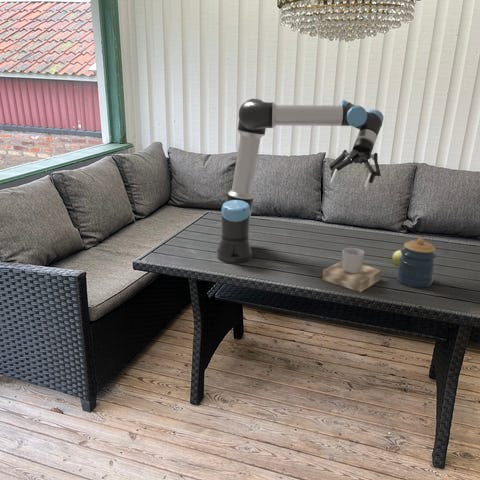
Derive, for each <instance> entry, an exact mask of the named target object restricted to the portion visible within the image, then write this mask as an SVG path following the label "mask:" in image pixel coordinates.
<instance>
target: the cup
mask: <svg viewBox="0 0 480 480" xmlns="http://www.w3.org/2000/svg"><path fill="white" fill-rule="evenodd" d="M364 257H365V251H364V250H363V249H360V248H357V247H356V248H355V247H345V248H343V249H342V258H341V259H342V260H341V261H342V267H343V270H344V271H345V272H348V273H358V272H359V271H360V269H361V266H362V265H363V261H364Z"/></svg>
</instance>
